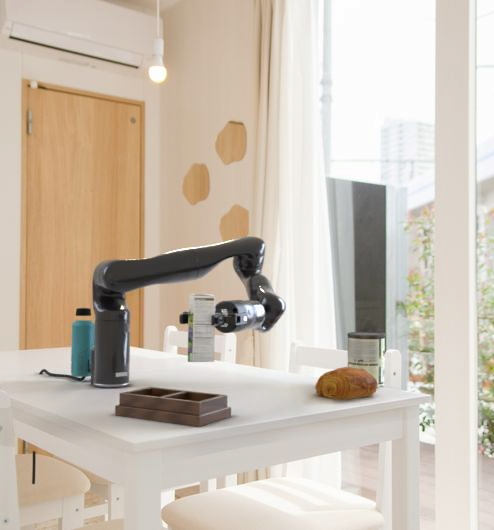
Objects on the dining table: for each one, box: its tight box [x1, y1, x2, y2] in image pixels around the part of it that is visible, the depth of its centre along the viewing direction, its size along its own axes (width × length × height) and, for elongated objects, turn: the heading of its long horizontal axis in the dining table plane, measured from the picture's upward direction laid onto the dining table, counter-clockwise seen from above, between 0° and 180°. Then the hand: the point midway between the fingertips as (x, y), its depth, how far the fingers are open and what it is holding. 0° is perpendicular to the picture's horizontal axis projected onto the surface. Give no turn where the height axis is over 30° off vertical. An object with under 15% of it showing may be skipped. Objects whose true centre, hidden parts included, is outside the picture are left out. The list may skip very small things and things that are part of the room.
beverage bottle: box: [70, 307, 95, 378], centre depth 192 cm, size 6×7×20 cm
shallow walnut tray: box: [114, 386, 232, 428], centre depth 145 cm, size 21×12×4 cm, turn 61°
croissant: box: [315, 366, 378, 401], centre depth 173 cm, size 14×16×8 cm
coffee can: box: [346, 331, 386, 388], centre depth 192 cm, size 10×10×14 cm
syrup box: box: [187, 293, 216, 363], centre depth 152 cm, size 6×6×14 cm
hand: (196, 319), depth 150 cm, fingers closed on syrup box, 7 cm apart
